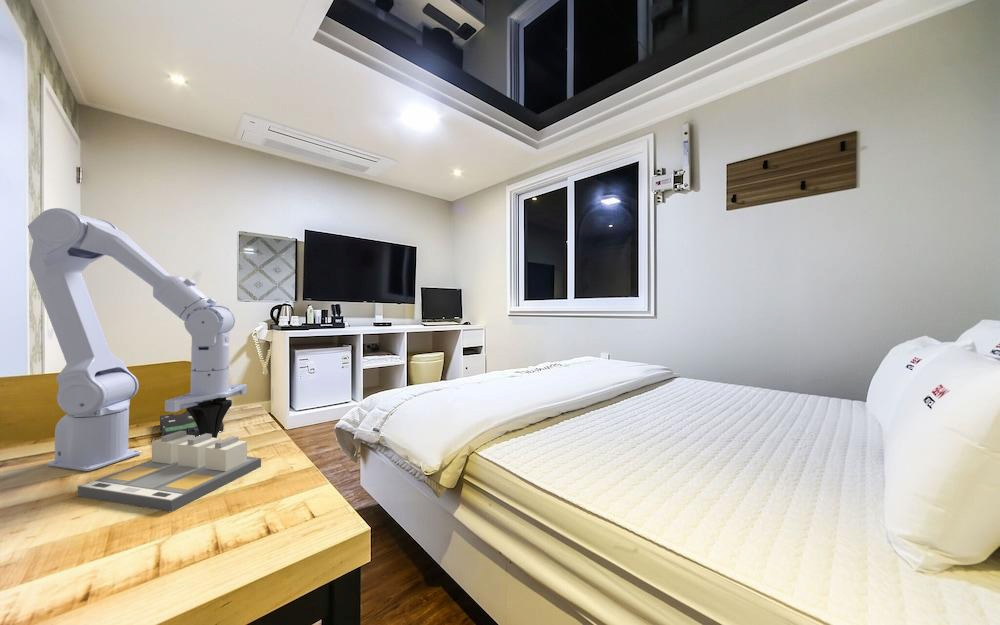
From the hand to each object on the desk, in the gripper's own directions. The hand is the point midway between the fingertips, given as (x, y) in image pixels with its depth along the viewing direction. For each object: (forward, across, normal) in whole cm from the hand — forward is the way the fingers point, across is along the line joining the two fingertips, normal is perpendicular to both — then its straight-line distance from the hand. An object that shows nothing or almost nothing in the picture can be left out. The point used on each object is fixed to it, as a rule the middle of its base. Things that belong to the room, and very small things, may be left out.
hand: (209, 439), depth 70 cm
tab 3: (+1, -6, -11) cm, 13 cm away
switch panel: (+3, -10, -6) cm, 12 cm away
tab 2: (+1, -6, -6) cm, 9 cm away
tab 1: (+1, -6, 0) cm, 6 cm away
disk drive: (+3, +11, +17) cm, 20 cm away
